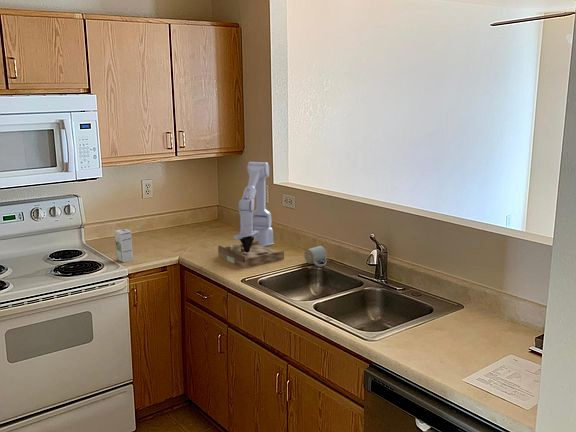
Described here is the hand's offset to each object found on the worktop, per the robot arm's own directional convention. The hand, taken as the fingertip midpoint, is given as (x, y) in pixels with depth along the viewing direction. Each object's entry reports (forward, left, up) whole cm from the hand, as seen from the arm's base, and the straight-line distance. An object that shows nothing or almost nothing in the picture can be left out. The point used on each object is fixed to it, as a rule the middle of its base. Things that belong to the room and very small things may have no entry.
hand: (246, 251), depth 273 cm
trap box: (-2, 0, -3) cm, 4 cm away
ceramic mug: (-22, +26, -4) cm, 34 cm away
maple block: (+5, -2, -1) cm, 6 cm away
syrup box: (+47, -33, -3) cm, 58 cm away
